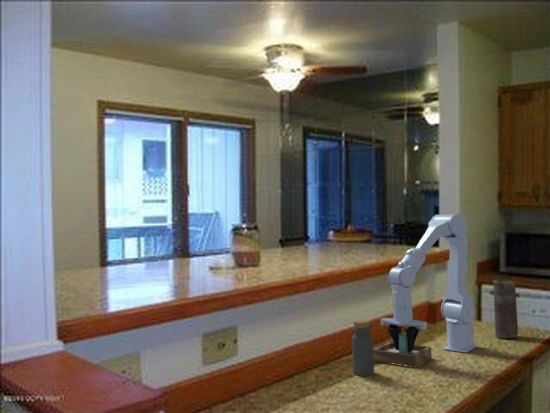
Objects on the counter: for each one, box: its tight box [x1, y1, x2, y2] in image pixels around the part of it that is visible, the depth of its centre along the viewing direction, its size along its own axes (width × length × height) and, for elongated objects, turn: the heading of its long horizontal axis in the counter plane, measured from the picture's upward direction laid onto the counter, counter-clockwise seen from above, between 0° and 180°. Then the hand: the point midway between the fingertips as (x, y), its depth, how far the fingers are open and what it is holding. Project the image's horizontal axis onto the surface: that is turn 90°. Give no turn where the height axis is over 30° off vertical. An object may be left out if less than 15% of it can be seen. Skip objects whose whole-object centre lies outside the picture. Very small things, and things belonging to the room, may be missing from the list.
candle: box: [492, 278, 519, 340], centre depth 197 cm, size 8×7×20 cm
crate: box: [373, 341, 433, 368], centre depth 175 cm, size 12×14×4 cm
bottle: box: [351, 318, 375, 377], centre depth 163 cm, size 6×6×15 cm
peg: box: [398, 332, 411, 355], centre depth 174 cm, size 4×4×7 cm
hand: (404, 350), depth 174 cm, fingers closed on peg, 3 cm apart
